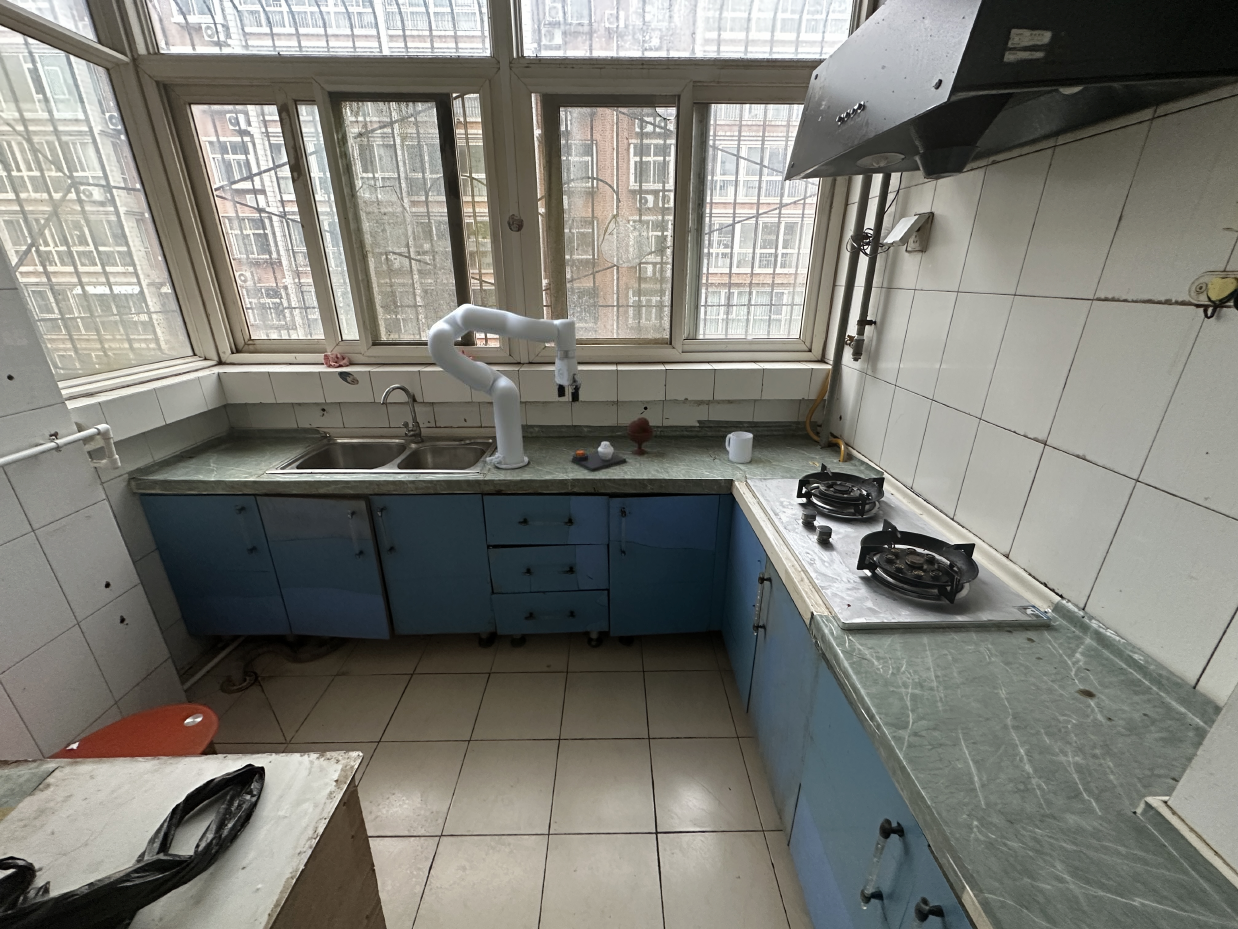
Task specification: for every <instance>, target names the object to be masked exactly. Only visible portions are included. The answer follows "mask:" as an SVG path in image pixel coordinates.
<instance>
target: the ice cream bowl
mask: <svg viewBox="0 0 1238 929" xmlns="http://www.w3.org/2000/svg"><path fill="white" fill-rule="evenodd" d="M653 435H654V429H653V428H652V426H651V425H650V421H649V419H647V418H646V417H644V416H642V417H641V416H640V417H638V418H637V419H636V420H633V421H631V422H630V423H629V424H628V427H627V428H626V436H627V438H628V439H629V440H630V441H631V442H633V443H634V444H637V448H636V449H634V450H633V451H632V454H634V455H638V456H641V455H645V454H647V450H645V449H643V444H646V443H647V442H649V441H650V440H651V439H652V437H653Z"/></svg>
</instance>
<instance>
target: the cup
mask: <svg viewBox="0 0 1238 929" xmlns="http://www.w3.org/2000/svg"><path fill="white" fill-rule="evenodd" d="M753 438H754V435H753V434H752V433H750V432H746V431H733V432H730V433H729V434H727V436H726V438H725V448H726V450H727V451H728V460H729V461H730V462H731V463H732V462H733V463H736V464H747V463H749V462H750V461H751V460H752V449H753Z"/></svg>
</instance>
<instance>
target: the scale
mask: <svg viewBox="0 0 1238 929" xmlns="http://www.w3.org/2000/svg"><path fill="white" fill-rule="evenodd" d="M571 462H572V463H574V464H576V465H578V466H580V467H582V468H584V469H586V470H588V471H590V472H596V471H600V470H604V469H606V468H610V467H613V466H617V465H620V464H624V463H627V458H625V457H623V456H621V455H618V454H616V453H615V452H613V454H612V456H611V458H610V459H609V460H603V459H602V458H601V457H600V455H599V452H598V450H596V451H593V452H590V453H588V452H584V456H577V452H573V454H572V457H571Z"/></svg>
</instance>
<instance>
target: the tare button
mask: <svg viewBox="0 0 1238 929" xmlns="http://www.w3.org/2000/svg"><path fill="white" fill-rule="evenodd" d="M576 453H577V456H584V450H577V451H576Z"/></svg>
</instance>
